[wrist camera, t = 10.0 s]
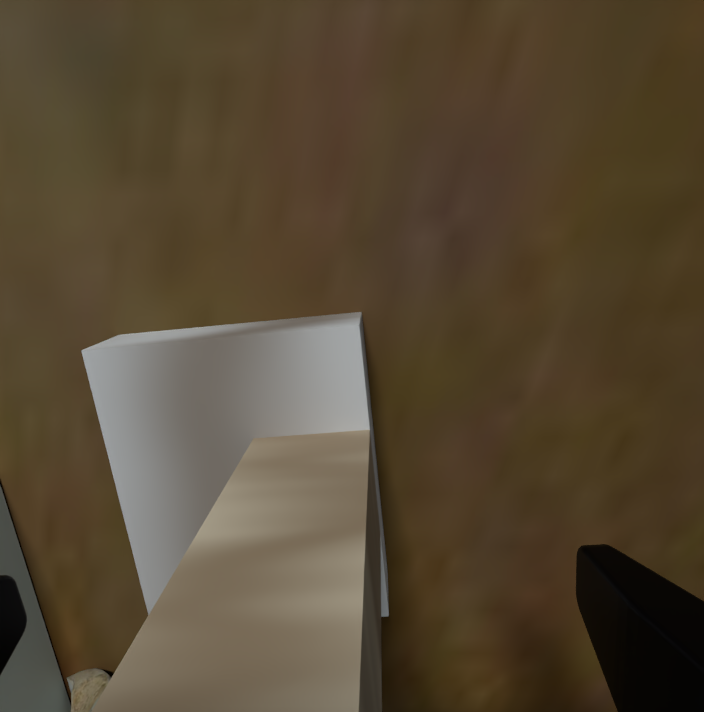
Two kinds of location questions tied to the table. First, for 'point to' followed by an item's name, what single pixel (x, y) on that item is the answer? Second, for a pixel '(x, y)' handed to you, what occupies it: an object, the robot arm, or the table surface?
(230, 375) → the plate with square post
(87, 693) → the ceramic fragment
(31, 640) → the stop rail
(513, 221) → the table surface
